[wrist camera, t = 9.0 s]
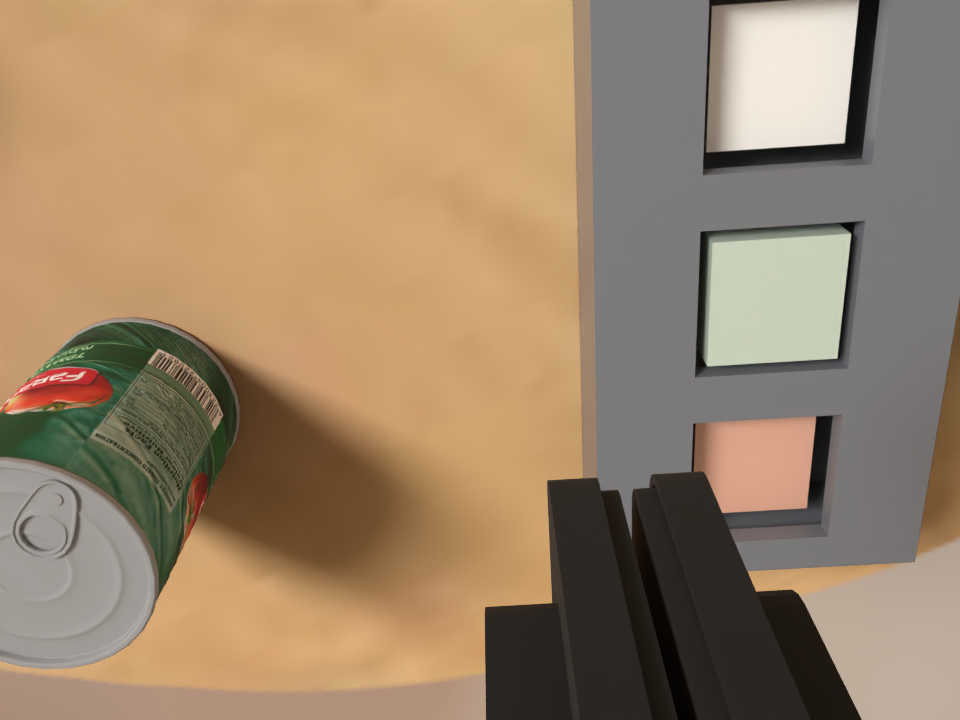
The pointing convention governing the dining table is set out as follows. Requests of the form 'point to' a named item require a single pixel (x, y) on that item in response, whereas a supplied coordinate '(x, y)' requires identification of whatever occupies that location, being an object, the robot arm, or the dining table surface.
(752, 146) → the off-white key
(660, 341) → the keypad housing
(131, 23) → the dining table surface
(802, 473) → the terracotta key
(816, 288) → the sage key
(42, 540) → the canned tomato
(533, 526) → the dining table surface
